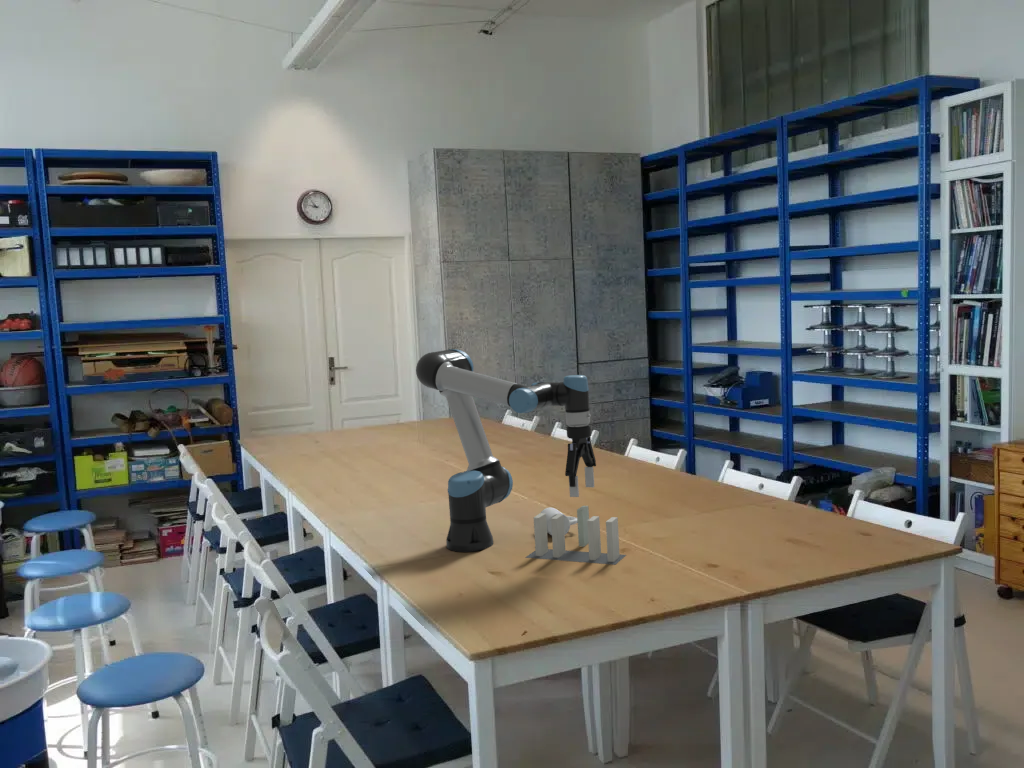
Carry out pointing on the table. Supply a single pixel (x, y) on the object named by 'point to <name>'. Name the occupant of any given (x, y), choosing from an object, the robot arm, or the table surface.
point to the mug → (553, 512)
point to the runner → (575, 557)
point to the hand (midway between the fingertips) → (582, 491)
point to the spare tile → (583, 525)
